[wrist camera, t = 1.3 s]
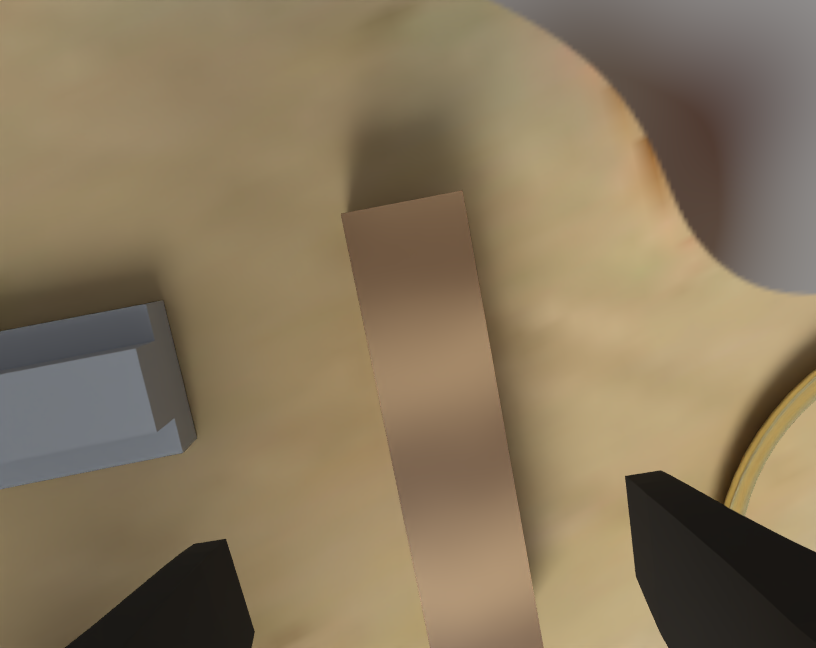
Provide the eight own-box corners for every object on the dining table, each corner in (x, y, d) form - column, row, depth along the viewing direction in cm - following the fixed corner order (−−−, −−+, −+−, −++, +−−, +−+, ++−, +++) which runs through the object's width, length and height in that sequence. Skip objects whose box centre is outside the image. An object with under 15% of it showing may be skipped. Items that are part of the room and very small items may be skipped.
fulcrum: (197, 438, 20) (166, 469, 17) (-60, 489, 20) (-136, 530, 17) (163, 300, 20) (125, 308, 17) (-102, 350, 19) (-190, 368, 16)
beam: (519, 614, 22) (551, 692, 18) (431, 634, 22) (444, 717, 18) (444, 203, 20) (462, 190, 16) (346, 221, 20) (340, 213, 16)
